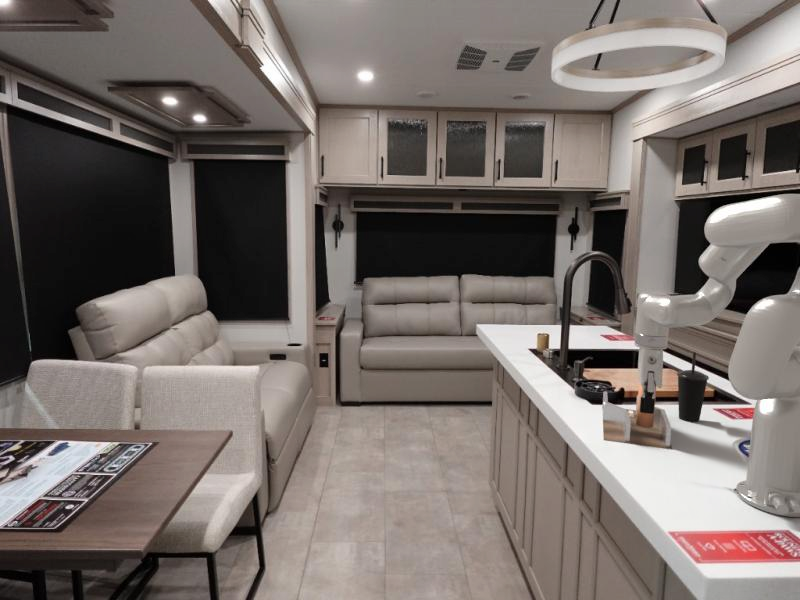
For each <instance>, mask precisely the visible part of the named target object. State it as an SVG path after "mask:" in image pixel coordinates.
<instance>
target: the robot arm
mask: <svg viewBox="0 0 800 600" xmlns="http://www.w3.org/2000/svg"><path fill="white" fill-rule="evenodd" d="M703 228H704V229H703V230H704V237H705V239H706V240H707V241H708V242H709V246H707V248H706V249H705V250H704V251H703V252H702V254H701V255H700V256H699V258H698V266H699V268H700V269H701V270H702V272H703V273H704V274H705V275H706V276H707V277H709V278H708V279H707V281H706V282H705V284H704V285H703V286H702V287H701V288H700V289H699V290H698V291H697V292H696V293H694V294H680V295H670V294H669V293H665V292H662V291H643V292H641V293H639V295H638V298H637V304H636V305H637V307H636V317H635V318H636V320H635V332H634V333H635V334H634V346H635V347H637V348H638V360H637V378H638V382H640V385H641V386H643V389H642V397H641V401H640V412H641V413H649V414H653V413H654V404H655V405H656V396H655V383H656V388H658V389H661V388H663V387H662V386H663V372H664V371H663V370H664V350H666V349H668V344H669V343H668V341H669V333H670V332H669V331H670V329H671V328H672V329H673V328H684V327H695V326H702V325H706V324H708V323H710V322H712V321H713V320H714V319H715V318H717V317H718V316H719V315H720V314H721V313H722V311H724V310H725V309H726V308H727V307H728V305H730V303H731V302H732V300H733V297H734V296H735V292H736V288H737V279H738V278H739V277H740V276H741V275H742V274H743V272H745V271H746V269H747V268H748V267H749V266H751V265H752V264H753V262H754V261H755V260H756V259H757V258H758V257H759V256H760V255H761V253H763V252H764V250H765V249H766V248H768V246H769V245H770V244H778V243H779V244H780V243H800V193H783V194H777V195H771V196H766V197H761V198H756V199H750V200H746V201H745V200H744V201H740V202H734V203H730V204H726V205H725V204H724V205H722V206H720V207H718V208H716V209H715V210H714V211H713V212H712V213H710V215H709V216H708V217H707V219H706V222H705V223H704V227H703ZM731 353H732V354H731V356H730V359H729V362H728V370H727V374H728V375H727V376H728V380H729V383H730V385H731V387H732V388H733V390H734V391H735V392H736V393H737V394H738V395H740V396H741V397H743V398H746V399H748V400H752V401H756V403H755V405H754V409H753V416H752V425H751V434H750V441H749V442H750V443H749V444H750V445H749V451H748V462H747V471H746V479H745V480H742V481H740V482H738V483H737V484H736V489H735V490H736V491H735V492H736V494H737V496H738V497H739V498H740V499H741V500H743V502H745V503H746V504H748V505H750V506H751V507H754V508H756V509H759V510H761V511H763V512H766V513H769V514H773V515H778V516H782V517H790V518H800V266H799V267H798V269H797V272H796V274H795V279H794V281H793V283H792V285H791V287H790V289H789V291H788V292H787V293H785V294H775V295H769V296H766V297H763V298H762V299H760V300H758V301H757V302H756V303H754V304H753V305H752V306H751V308H750V309H749V310H748V312H747V313H746V315H745V317H744V319H743V322H742V325H741V328H740V331H739V333H738V335H737V339H736V342H735V345H734V348H733V351H732V352H731ZM645 383H646V384H648V386H646V385H645ZM645 388H647V390H645ZM654 397H655V398H654Z"/></svg>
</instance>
